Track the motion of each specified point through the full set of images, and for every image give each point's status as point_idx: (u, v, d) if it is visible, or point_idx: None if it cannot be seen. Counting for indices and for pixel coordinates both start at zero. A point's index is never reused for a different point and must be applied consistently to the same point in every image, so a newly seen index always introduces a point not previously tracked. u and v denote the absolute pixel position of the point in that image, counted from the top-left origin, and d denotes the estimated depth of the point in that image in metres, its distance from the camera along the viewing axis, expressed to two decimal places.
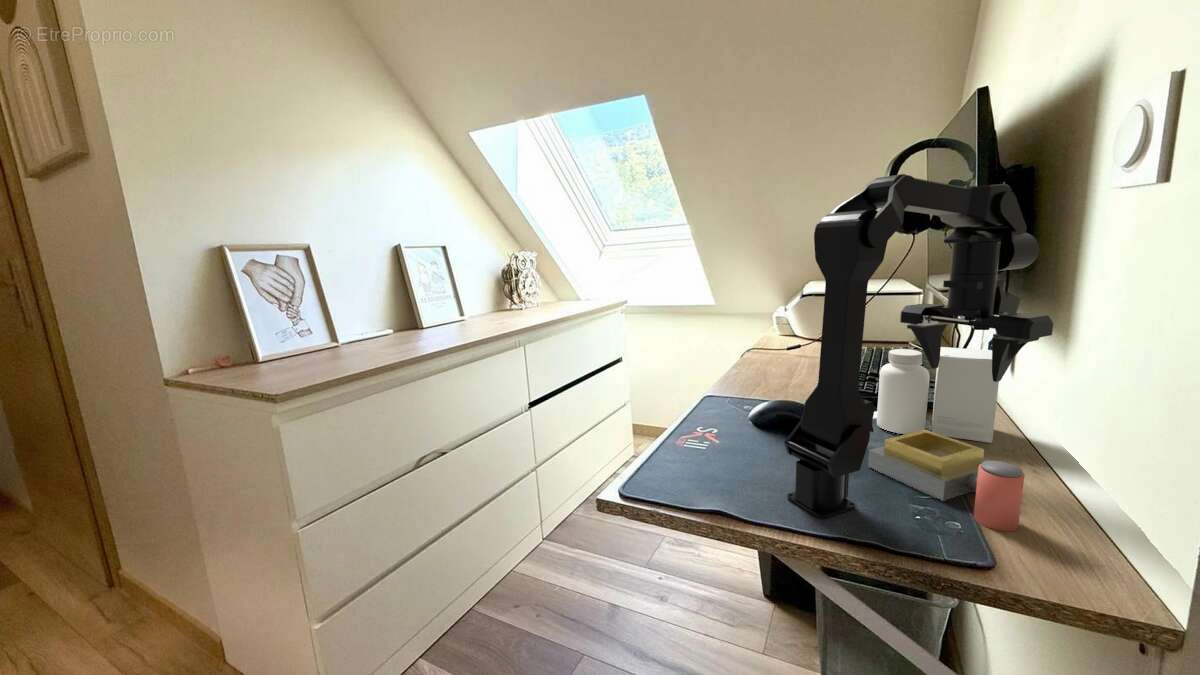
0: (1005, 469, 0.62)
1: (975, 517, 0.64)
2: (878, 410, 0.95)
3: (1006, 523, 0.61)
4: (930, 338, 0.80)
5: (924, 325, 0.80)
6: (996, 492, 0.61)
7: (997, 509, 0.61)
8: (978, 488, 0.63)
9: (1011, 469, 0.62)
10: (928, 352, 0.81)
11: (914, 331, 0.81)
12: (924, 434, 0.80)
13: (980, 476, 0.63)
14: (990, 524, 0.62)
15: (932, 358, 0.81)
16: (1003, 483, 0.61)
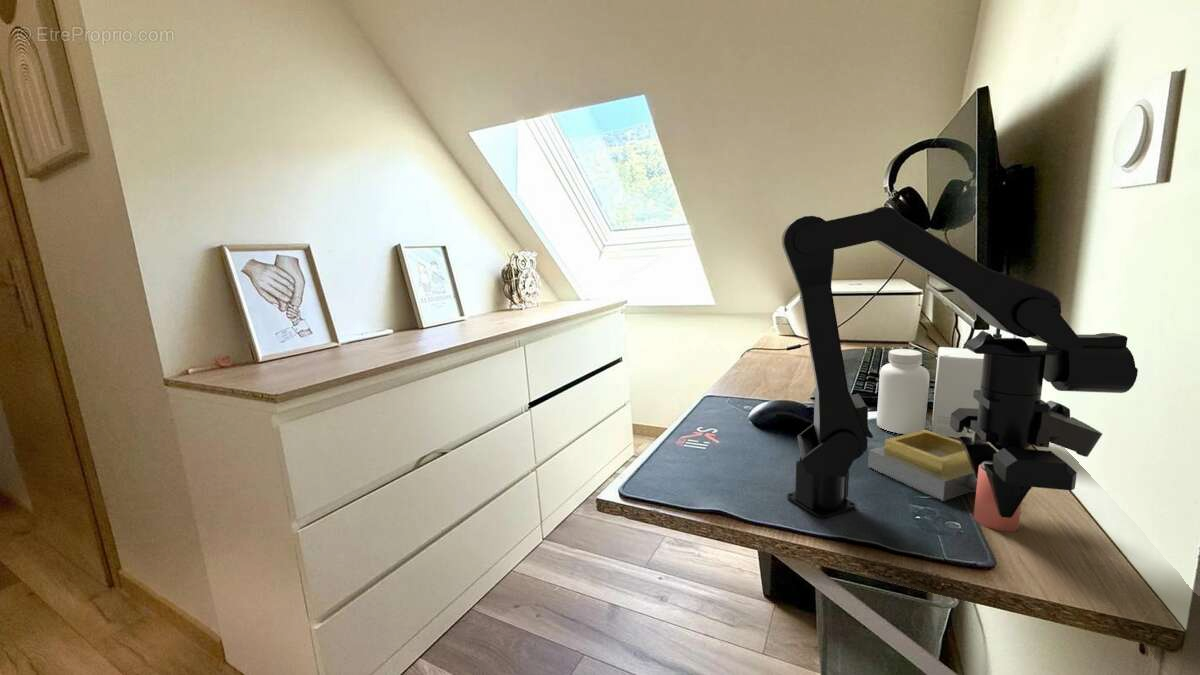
0: None
1: (975, 517, 0.64)
2: (878, 410, 0.95)
3: (1006, 523, 0.61)
4: (981, 459, 0.65)
5: (974, 442, 0.66)
6: None
7: (997, 509, 0.61)
8: (978, 488, 0.63)
9: None
10: None
11: (963, 446, 0.67)
12: (924, 434, 0.80)
13: (980, 476, 0.63)
14: (990, 524, 0.62)
15: None
16: None
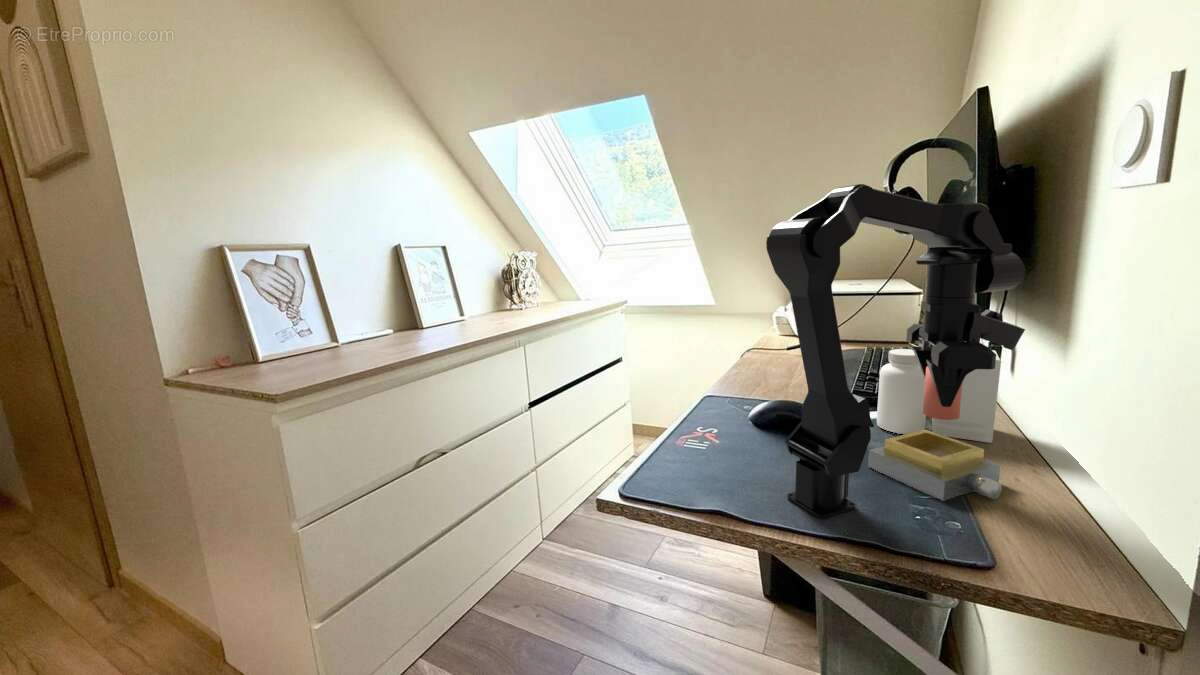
0: None
1: (923, 411, 0.74)
2: (878, 410, 0.95)
3: (947, 412, 0.71)
4: None
5: (923, 348, 0.76)
6: None
7: None
8: (925, 385, 0.74)
9: None
10: None
11: (914, 353, 0.77)
12: (924, 434, 0.80)
13: (926, 374, 0.73)
14: (934, 414, 0.72)
15: None
16: None
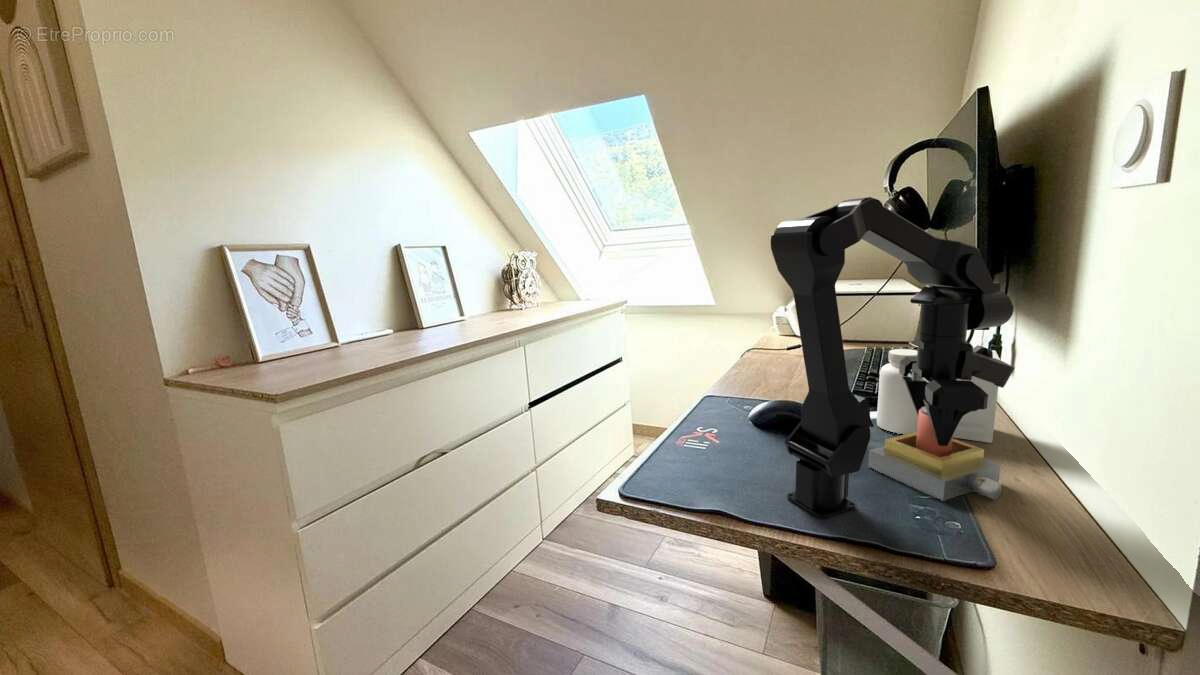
0: None
1: None
2: (878, 410, 0.95)
3: (939, 456, 0.74)
4: (918, 393, 0.79)
5: (913, 379, 0.79)
6: (931, 430, 0.73)
7: (932, 444, 0.74)
8: (918, 428, 0.76)
9: None
10: (916, 408, 0.79)
11: (905, 384, 0.81)
12: None
13: (919, 418, 0.75)
14: None
15: None
16: None
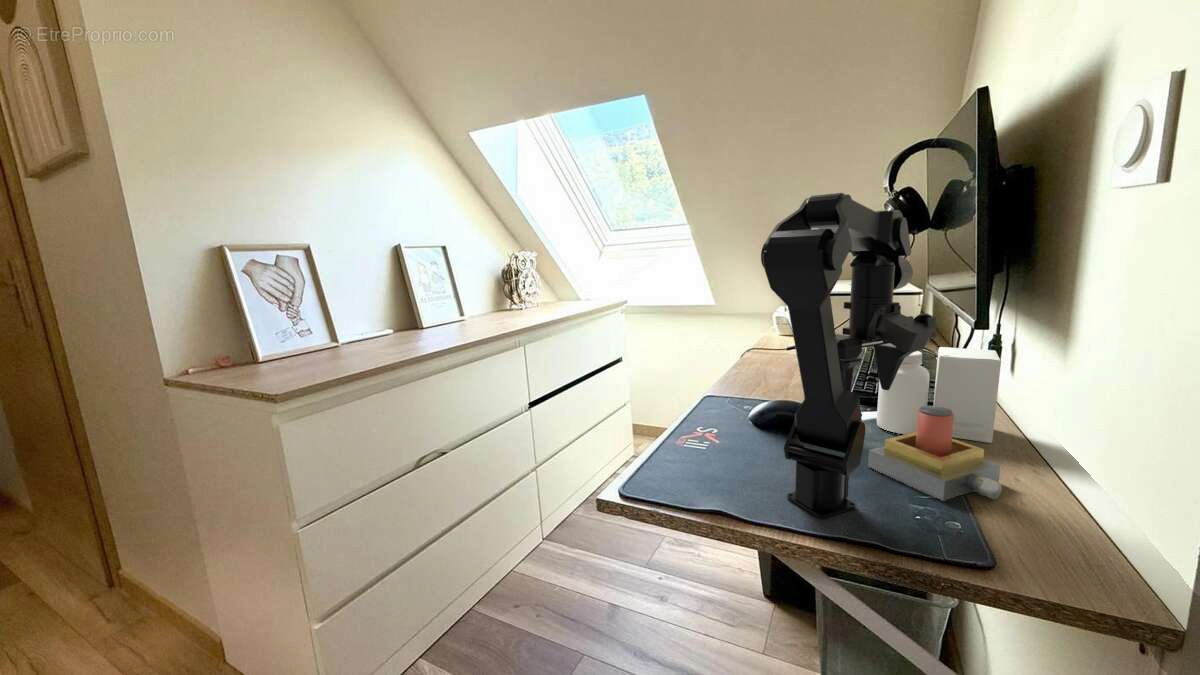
0: (938, 410, 0.74)
1: None
2: (878, 410, 0.95)
3: (939, 455, 0.74)
4: (881, 357, 0.81)
5: None
6: (930, 429, 0.74)
7: (931, 443, 0.74)
8: (917, 428, 0.76)
9: (943, 410, 0.74)
10: (879, 371, 0.82)
11: None
12: None
13: (918, 417, 0.75)
14: None
15: (880, 378, 0.81)
16: (936, 421, 0.73)
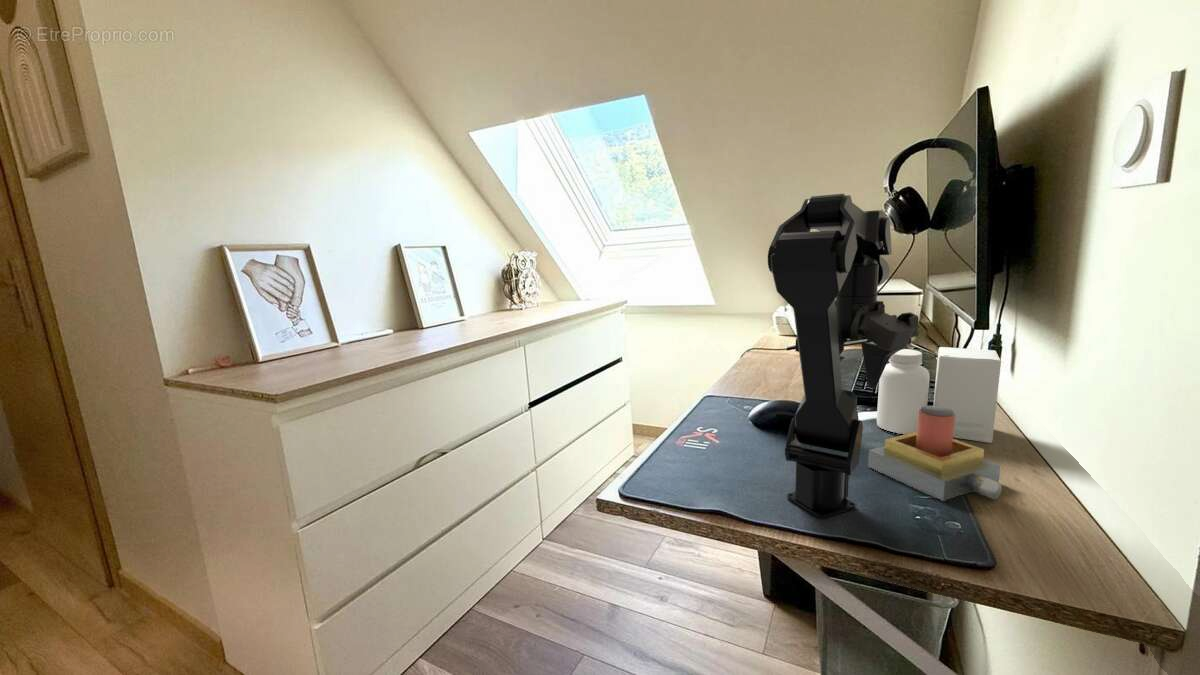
0: (939, 411, 0.74)
1: None
2: (878, 410, 0.95)
3: (939, 455, 0.74)
4: (868, 355, 0.82)
5: (868, 342, 0.82)
6: (931, 429, 0.73)
7: (931, 443, 0.74)
8: (918, 427, 0.76)
9: (944, 411, 0.74)
10: (867, 369, 0.82)
11: None
12: None
13: (919, 417, 0.75)
14: None
15: (867, 375, 0.82)
16: (936, 421, 0.73)
